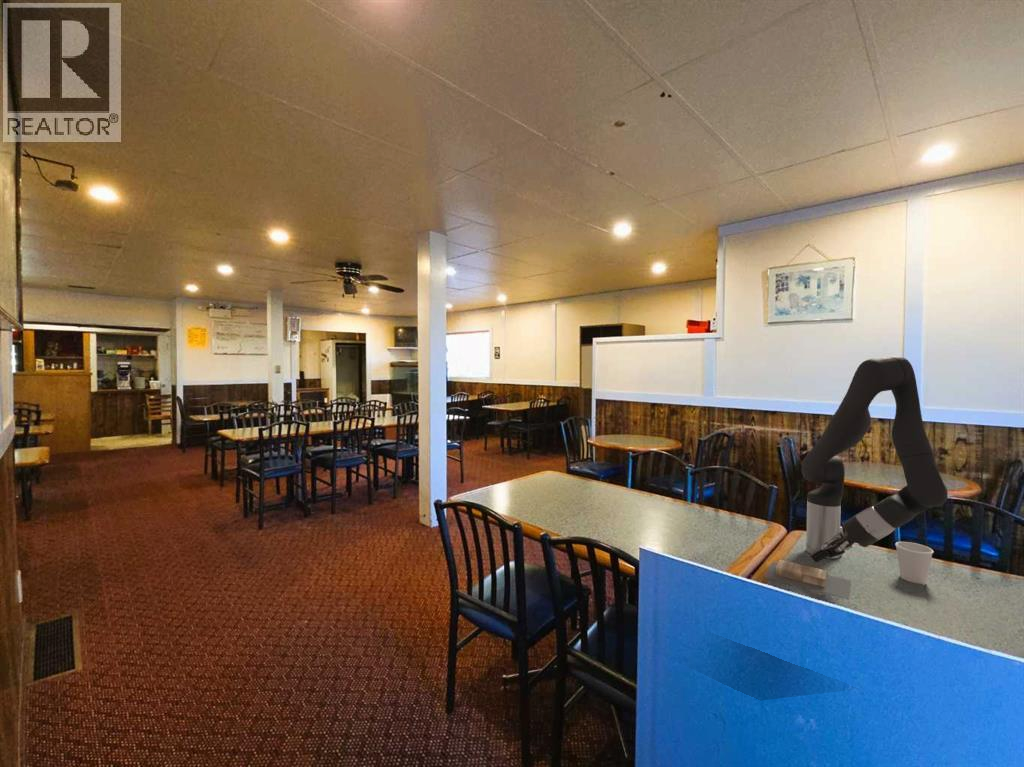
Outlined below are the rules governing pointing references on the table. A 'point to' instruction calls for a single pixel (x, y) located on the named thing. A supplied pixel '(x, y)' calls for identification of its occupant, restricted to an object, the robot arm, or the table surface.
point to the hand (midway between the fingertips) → (813, 558)
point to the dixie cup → (914, 561)
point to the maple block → (801, 573)
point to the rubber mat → (832, 585)
